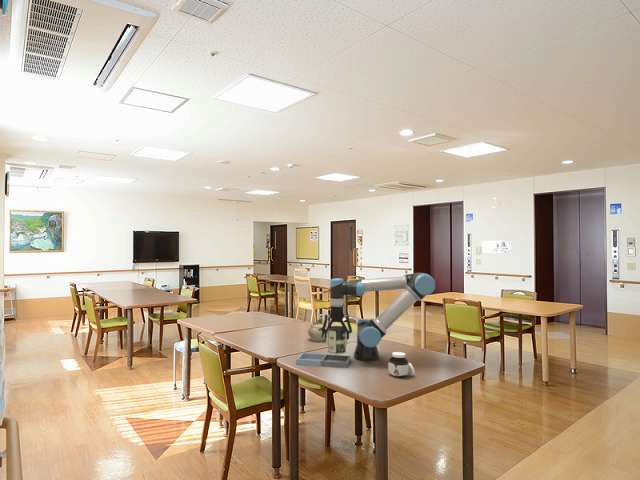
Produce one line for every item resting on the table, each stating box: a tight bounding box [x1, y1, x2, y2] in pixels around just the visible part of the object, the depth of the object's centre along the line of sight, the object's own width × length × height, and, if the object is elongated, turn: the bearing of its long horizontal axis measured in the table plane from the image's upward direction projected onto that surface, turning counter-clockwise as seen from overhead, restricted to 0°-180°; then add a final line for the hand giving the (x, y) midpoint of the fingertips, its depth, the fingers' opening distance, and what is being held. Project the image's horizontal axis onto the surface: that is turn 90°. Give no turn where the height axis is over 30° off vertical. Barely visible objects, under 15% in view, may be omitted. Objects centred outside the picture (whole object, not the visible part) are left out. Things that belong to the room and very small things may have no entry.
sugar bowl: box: [307, 319, 328, 343], centre depth 293 cm, size 20×15×15 cm
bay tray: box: [295, 352, 352, 369], centre depth 238 cm, size 29×15×3 cm, turn 79°
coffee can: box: [327, 325, 347, 355], centre depth 237 cm, size 10×10×14 cm
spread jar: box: [387, 351, 416, 379], centre depth 216 cm, size 12×11×12 cm
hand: (336, 344), depth 237 cm, fingers closed on coffee can, 10 cm apart
